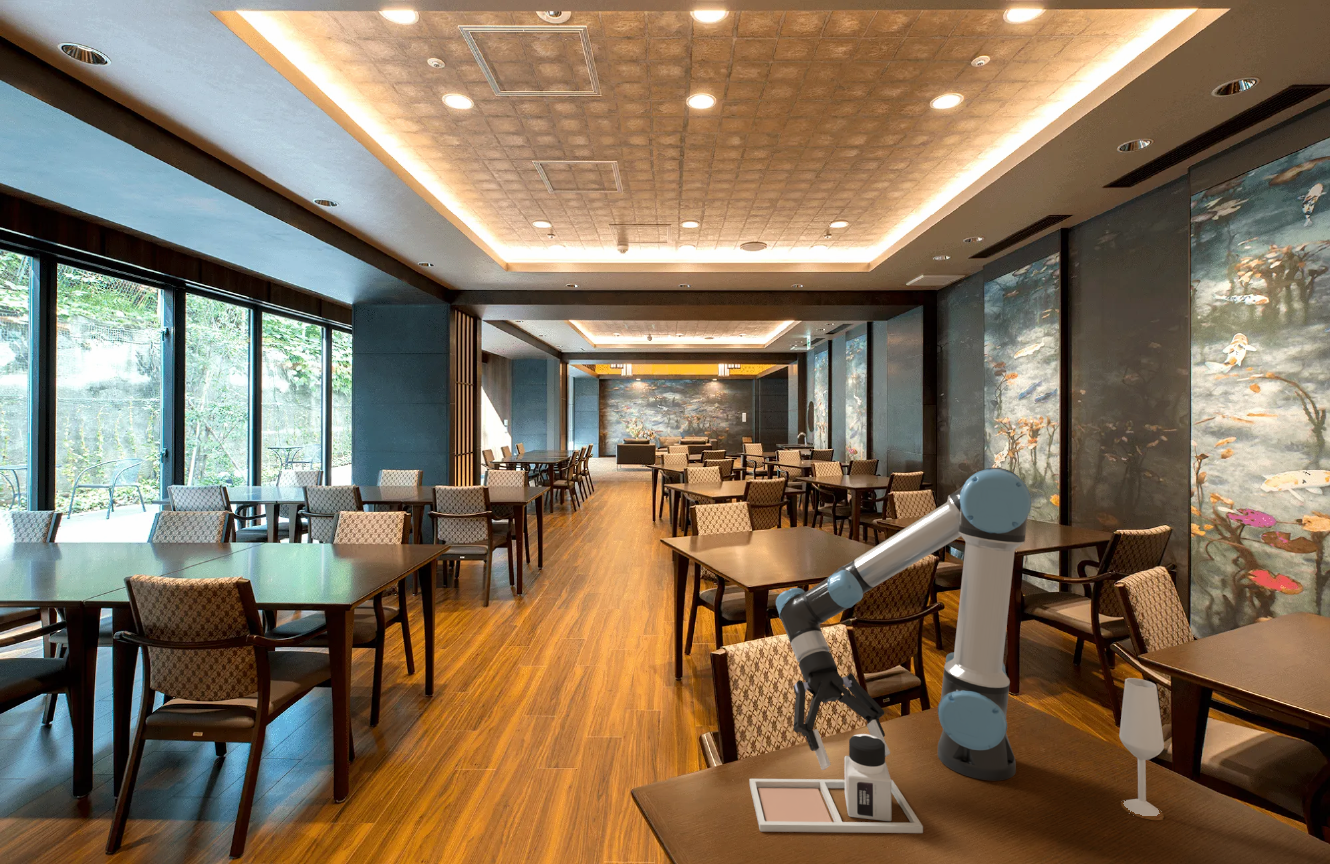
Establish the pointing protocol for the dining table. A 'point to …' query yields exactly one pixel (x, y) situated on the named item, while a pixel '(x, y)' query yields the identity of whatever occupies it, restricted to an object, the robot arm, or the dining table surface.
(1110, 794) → the dining table surface
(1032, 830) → the dining table surface
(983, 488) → the robot arm
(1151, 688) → the champagne flute
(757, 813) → the bay frame
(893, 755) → the dining table surface
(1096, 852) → the dining table surface
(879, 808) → the container
